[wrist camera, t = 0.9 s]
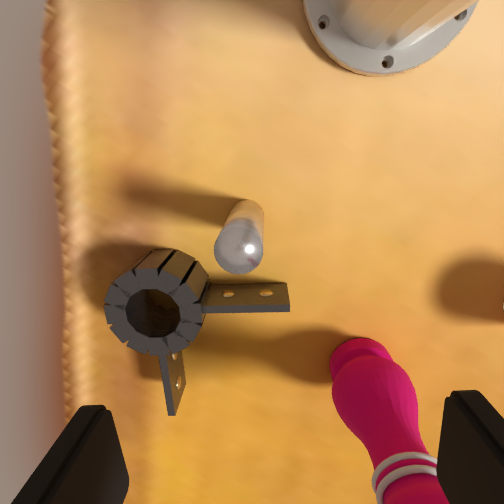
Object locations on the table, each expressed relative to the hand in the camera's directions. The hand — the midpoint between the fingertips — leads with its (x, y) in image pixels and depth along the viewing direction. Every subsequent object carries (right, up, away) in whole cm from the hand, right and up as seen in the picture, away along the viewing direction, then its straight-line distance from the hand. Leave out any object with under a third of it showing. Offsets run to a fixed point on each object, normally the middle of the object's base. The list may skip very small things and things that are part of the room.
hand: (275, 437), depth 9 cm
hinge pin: (-1, +8, +20) cm, 22 cm away
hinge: (-5, -2, +24) cm, 24 cm away
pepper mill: (+11, -6, +25) cm, 28 cm away
